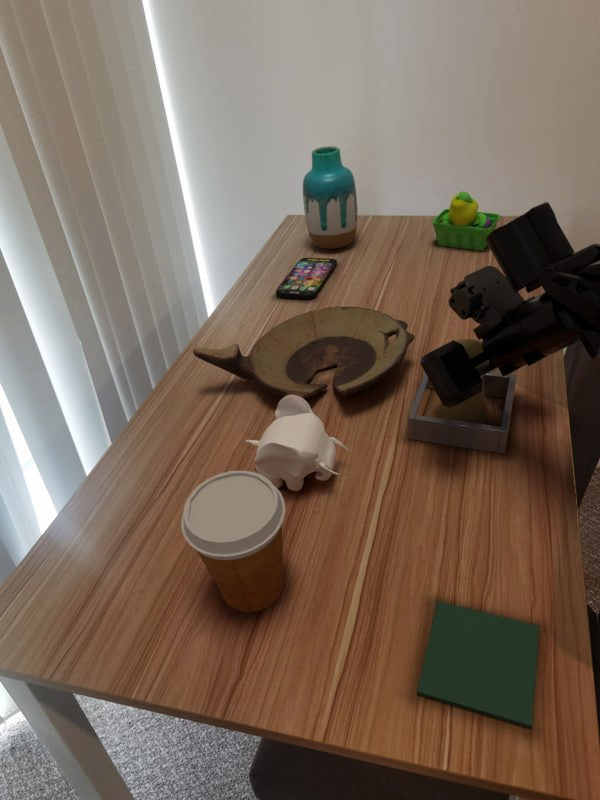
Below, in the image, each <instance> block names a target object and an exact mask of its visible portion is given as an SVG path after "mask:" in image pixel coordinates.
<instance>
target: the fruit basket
mask: <svg viewBox="0 0 600 800" xmlns="http://www.w3.org/2000/svg"><path fill="white" fill-rule="evenodd" d="M478 210H479V203H478V202H477V200H476V199H475V198H473V197H471V195H470V193H469V192H467V191H460V192H459V193H456V194H455V195H454V196H453V197H452V199H451V200H450V205H449V208H445V209H443V210H442V211H441V212H440V213H439V214H438V215H437V216H435V218H434V219H432V221H431V223H432V227H434V232H435V237H436V240H437V244H438V246H443V247H452V248H457V249H458V248H461V249H465V250H473V251H480V252H482V251H484V249H485V248H486V247H487V246H488V244H487V243H486V241H485V238H486V237H487V236H488V235H489V234H490V233H491V232H493V231H494V230H495V229H496V227H497V224H498V222H499V220H500V218H501V214H499V213H493V212H482V211H478Z"/></svg>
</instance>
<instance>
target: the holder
mask: <svg viewBox="0 0 600 800" xmlns="http://www.w3.org/2000/svg"><path fill="white" fill-rule="evenodd" d="M483 377H484V389H485V397H493V398H499V399H505V402H504V407H503V411H502V412H503V413H502V419H501V423H500V426H499V425H498V426H497V425H492V424H491V425H490V424H485V425H484V424H477V423H470V422H462V421H455V420H448V419H441V418H439V417H433V416H427V415H424V412H425V410H426V406H427V403H428V400H429V397H430V394H431V391H432V390H433V389H432V388H431V387H430V385H429V384H428V379H429V378H428V377H427V375H426V373H425V371H423V375H422V378H421V380H420V383H419V386H418V390H417V392H416V393H415V397H414V400H413V403H412V406H411V408H410V411H409V413H408V417H407V439H408V440H412V441H419V442H425V443H432V444H438V445H443V446H444V445H445V446H450V447H456V448H457V447H458V448H464V449H470V450H476V451H477V450H478V451H484V452H490V453H498V454H503V455H504V454H506V449H507V442H508V436H509V431H510V423H511V417H512V413H513V412H512V411H513V407H514V406H513V405H514V400H515V393H516V385H517V377H518V375H517V374H513V373H510V374H509V375H506V376H504V377H503V376H502V374H501V372H495V371H491V372H489V373H487V374H485V375H484V376H483Z"/></svg>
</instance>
